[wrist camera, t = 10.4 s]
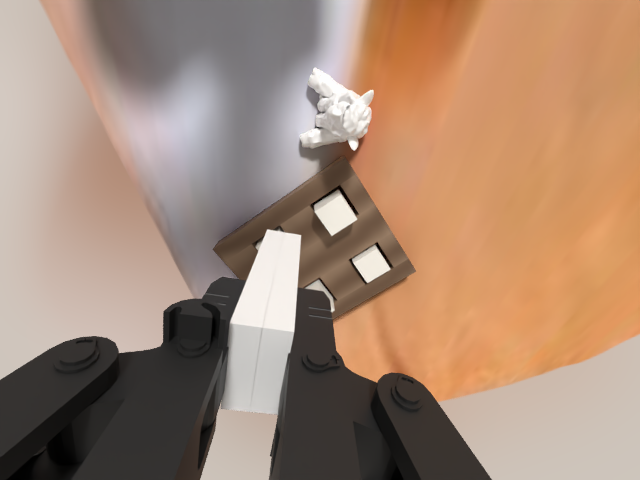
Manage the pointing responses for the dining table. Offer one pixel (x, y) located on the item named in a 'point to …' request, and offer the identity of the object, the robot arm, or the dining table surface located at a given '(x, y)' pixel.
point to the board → (323, 239)
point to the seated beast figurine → (337, 113)
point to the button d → (370, 263)
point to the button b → (319, 286)
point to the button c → (334, 212)
